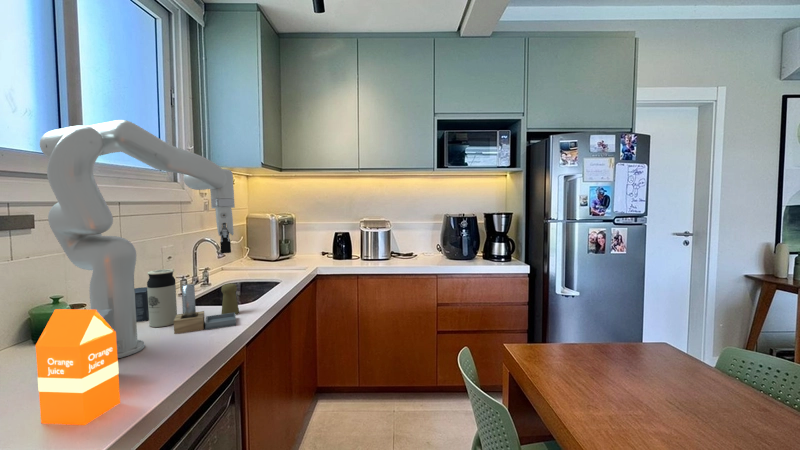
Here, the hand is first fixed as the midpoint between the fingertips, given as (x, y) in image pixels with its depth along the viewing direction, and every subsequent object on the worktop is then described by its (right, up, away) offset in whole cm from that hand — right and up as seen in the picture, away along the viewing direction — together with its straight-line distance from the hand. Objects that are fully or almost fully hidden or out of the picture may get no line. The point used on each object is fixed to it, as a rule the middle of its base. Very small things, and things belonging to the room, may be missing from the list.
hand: (226, 251), depth 133 cm
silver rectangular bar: (-5, -24, -14) cm, 28 cm away
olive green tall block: (+1, -23, +2) cm, 23 cm away
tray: (+3, -24, -10) cm, 26 cm away
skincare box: (-6, -26, -51) cm, 57 cm away
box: (-29, -24, -2) cm, 38 cm away
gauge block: (-5, -24, -14) cm, 28 cm away
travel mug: (-17, -24, -9) cm, 31 cm away
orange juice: (+2, -27, -63) cm, 68 cm away
